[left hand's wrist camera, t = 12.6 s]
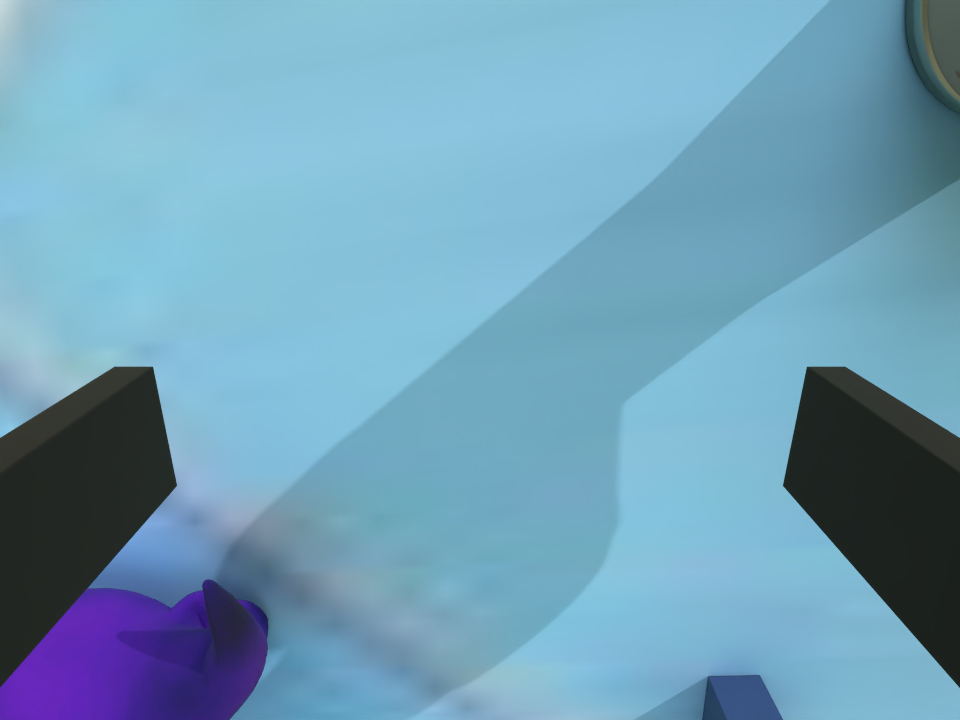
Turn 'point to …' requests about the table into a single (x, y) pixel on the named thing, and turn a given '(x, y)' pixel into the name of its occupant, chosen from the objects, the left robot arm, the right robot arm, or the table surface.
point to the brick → (738, 699)
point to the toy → (142, 659)
